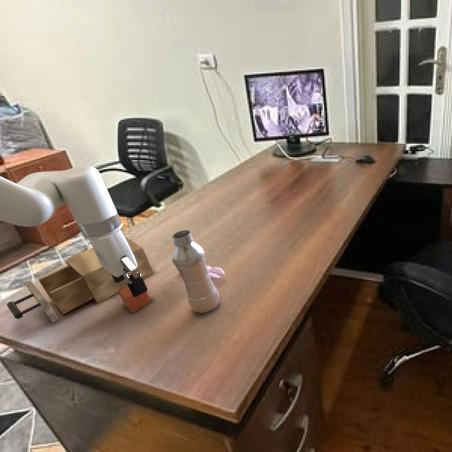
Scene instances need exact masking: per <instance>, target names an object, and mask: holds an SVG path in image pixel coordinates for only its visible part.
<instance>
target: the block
mask: <svg viewBox="0 0 452 452" xmlns="http://www.w3.org/2000/svg"><path fill="white" fill-rule="evenodd" d="M118 294H119V296H120V299H121V301H122V302H123V304H124V306H125V307H126V308H127V309H129V310H130V311H131V312H132V313H134V312H136V311H138V310H139V309H141V308H143V307H145V306H146V305H147V304H149V303H151V299H150V296H149V295H148V291H146V292H144V293H142V294H141V295H139V296H137V297H133V295H132V293H131V291H130V289H129V287H128V286H127V287H126V288H124V289H122V290H120V291H118Z"/></svg>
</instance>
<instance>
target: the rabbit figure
mask: <svg viewBox="0 0 452 452" xmlns="http://www.w3.org/2000/svg"><path fill="white" fill-rule="evenodd" d="M207 269H208V272H209V276H210V278H211V279H212V278H214V279H221V276H219V275H222V276H225V272H224V270H223V269H222V268H220V267H216V266H215V267H211V266H209V265H207ZM178 275H179V276H181V275H180V273H179V272H178Z"/></svg>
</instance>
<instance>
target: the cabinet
mask: <svg viewBox="0 0 452 452" xmlns="http://www.w3.org/2000/svg"><path fill="white" fill-rule="evenodd" d="M123 236H124V237H125V239H126V241H127V243H128V245H129V247H130V249H131V251H132V253H133V255H134V257H135V260H136V262H137V269H138V272H139V273H140V274H141V276H142V278H143V280H144V279H146V278H147V277H149V276H151V275H153V274H154V271H153V268H152V266H151V264H150V262H149V259H148V256H147V254H146V251H145V249H144V247H143V246H142V245H140V244H138V243H137V242H135V241H134V240H132V239H131V238H128V237H127V236H125V235H123ZM64 261H65V263H66V266H68V265H70V266H71V267H72V268H73V269H74V270H75V271H76V272H77V273H78V274H80V275H81V276H82V277H83V279H84V281H85V282H86V284H87V286H88V288H89V290H90V291H91V293H92V295H93V297H94V298H92V299H91V300H93V301H94V302H96V304H99V303H102V302H103V301H105V300H107V299H109V298H110V297H112V296H114V295H116V294H119V292H118V291H120V290H122V289H124V288H126V287H127V286H128V285H127V283H128V282H127V280H126V279H124V280H122V281H120V282H119V283H116V282H115V281H114V279H113V277H112V275H111V273H109V272H108V271H107V270H106V269H104V268H103V267H102V266H101V264H100V263H99V260H98V258H97V256H96V254H95V252H94V250H93V247H91V248H89V249H87V250H85V251H82V252H80V253H78V254H75V255H73V256H71V257H69V258H66V259H65V260H64ZM126 270H127V268H126ZM128 274H129V278H130V275H131V274H130V272H129V273H128Z"/></svg>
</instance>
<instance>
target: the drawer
mask: <svg viewBox="0 0 452 452" xmlns="http://www.w3.org/2000/svg"><path fill="white" fill-rule="evenodd" d="M37 280H38V282H39V283H40V285H41V287H42V288H43V290H44V291H45V293H46V295H47V296H48V298H49V299H50V301H51V302H52V303H53V304H54V305H55V307H57V308H58V310H59V311H60V312H61V313H62V314H63V315H64V314H66V313H68V312H70V311H72V310H73V309H75V308H78V307H80V306H81V305H83V304H85V303H87V302H89V301H91V300H93V299H92V298H94V297H93V295H92V293H91V291H90V290H89V288H88V286H87V284H86V282H85V281H84V279H83V277H82V276H81V275H80V274H78V273H77V272H76V271H75V270H74V269H73V268H72V267H71V266H70V265H66V266H64V267H61V268H59V269H57V270H54V271H52V272H50V273H47V274H46V275H44V276H41V277H39V278H38V279H37ZM24 285H25V287H26V288H27V290H28V291H29V293H30V294H28V295H26V296H24V297H22V298H19V299H17V300H15V301H8V302H7V303H6V307H7V309H8V310H9V311H10V313H11V315H12V317H14V319H16V320H19V319H22V318H23V316H24V315H25V314H28V313H29V312H31V311H33V310H35V309H38V308H40V309H41V310H42V311H43V312H44V314H45V315H46V316H47V317H48V319H49V320H50V321H51V323H54V322H57V321H58V320H59V317H58V316H57V314H56V313H55V312H54V309H53V308H52V307H51V305H50V304H49V302H48V301H47V299H46V298H45V296H44V294H43V293H42V292H41V291H40V290H39V289H38V287H36V285H35V284H34V283H33V282H32V280H27V281H25V282H24ZM31 298H34V300H35V302H36V304H34V305H31V306H30V307H28V308H26V309H24V310H22V311H21V310H20V309H19V307H18V306H17V305H19V304H21V303H22V302H25V301H27V300H29V299H31Z"/></svg>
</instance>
